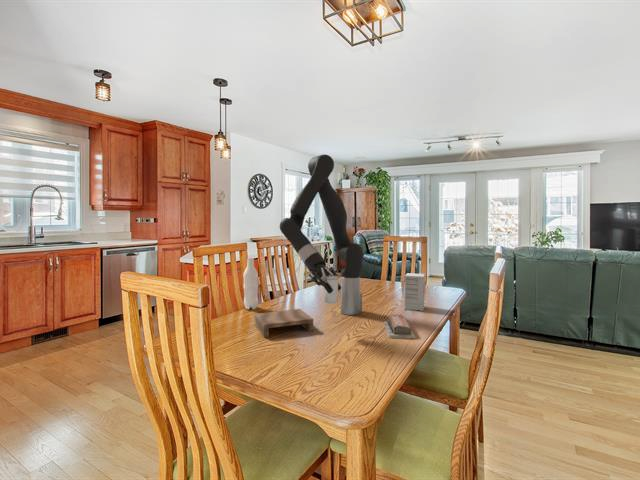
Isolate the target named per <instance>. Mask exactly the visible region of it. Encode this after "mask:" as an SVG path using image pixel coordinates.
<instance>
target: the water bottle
mask: <svg viewBox="0 0 640 480" xmlns="http://www.w3.org/2000/svg"><path fill="white" fill-rule="evenodd" d="M246 261H247V262H246V264H247V266H246V268H245V270H244V271H243V275H242V276H243V291H244V298H243V306H244V307H245V309H246V310H248V309H249V310H250V309H251V310H255V309H257V308H258V307H259V297H258V290H259V273H258V270H257V269H256V267H255V259H254V257H249V258H247V260H246Z"/></svg>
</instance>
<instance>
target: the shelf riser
mask: <svg viewBox="0 0 640 480" xmlns="http://www.w3.org/2000/svg"><path fill="white" fill-rule="evenodd" d="M296 325H297V326H298V325H301V327H303V328H304V329H306V330H307V331H308V332H314V318H313V317H312V316H310V315H309V314H307V313H306V312H305V311H304V310H302V309H301V308H296V309H288V310H287V309H286V310H278V311H277V310H276V311H268V312H260V313H255V314H254V326H255V327H256V329H257V330H258V332H259V331H260V332H259V333H260V334H261V336H262V337H263V338H265V339H267V338H269V337H270V334H269V333H270V332H269V330H270V329H272V328H273V329H274V328H280V327H287V326H288V327H289V326H296Z"/></svg>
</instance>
